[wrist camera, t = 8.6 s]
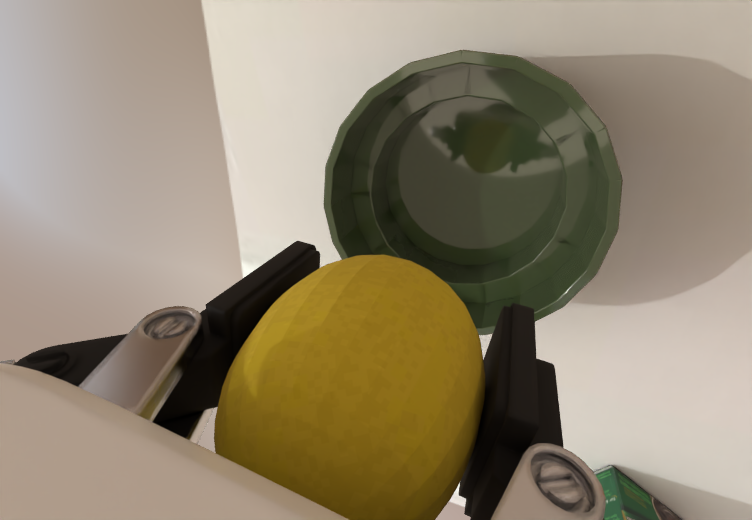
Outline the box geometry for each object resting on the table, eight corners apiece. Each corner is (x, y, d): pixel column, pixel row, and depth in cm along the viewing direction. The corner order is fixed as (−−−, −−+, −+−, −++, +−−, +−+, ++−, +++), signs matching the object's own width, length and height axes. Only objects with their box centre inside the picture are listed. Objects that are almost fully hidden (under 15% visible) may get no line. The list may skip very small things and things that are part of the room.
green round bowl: (644, 78, 19) (694, 76, 13) (545, 307, 26) (551, 367, 20) (377, 46, 22) (331, 34, 17) (356, 254, 30) (319, 292, 24)
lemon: (464, 382, 13) (397, 724, 6) (326, 325, 14) (140, 554, 7) (525, 249, 10) (528, 604, 3) (346, 192, 11) (72, 360, 4)
